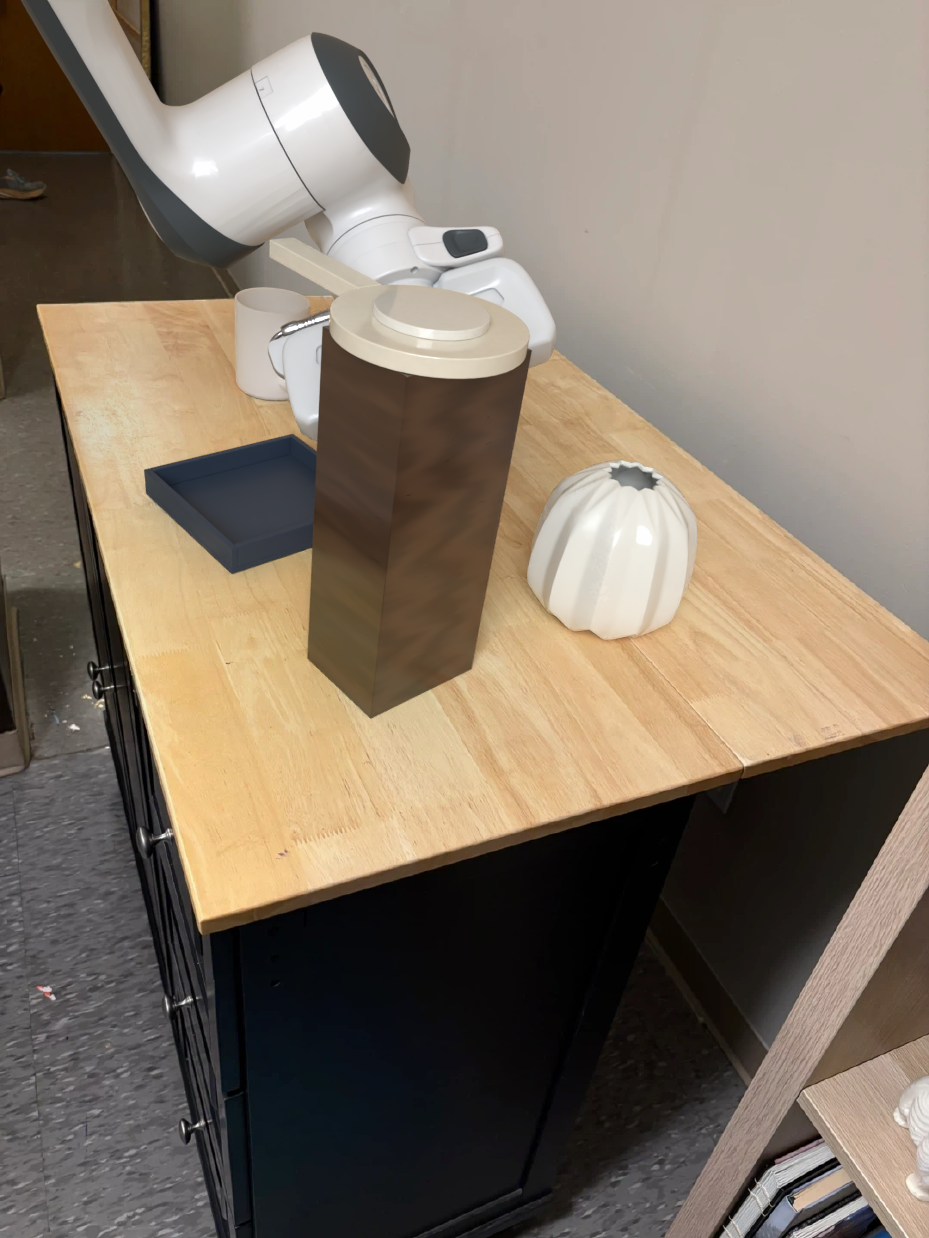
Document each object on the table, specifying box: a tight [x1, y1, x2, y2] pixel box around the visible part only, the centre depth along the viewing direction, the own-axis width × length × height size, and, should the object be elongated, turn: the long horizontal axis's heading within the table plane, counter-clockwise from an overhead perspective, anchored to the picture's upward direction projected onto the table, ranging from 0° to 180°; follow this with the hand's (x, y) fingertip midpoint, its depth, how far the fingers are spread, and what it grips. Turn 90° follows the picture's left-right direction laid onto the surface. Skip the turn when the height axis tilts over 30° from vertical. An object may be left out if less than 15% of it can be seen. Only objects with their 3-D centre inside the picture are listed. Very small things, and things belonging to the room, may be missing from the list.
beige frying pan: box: [268, 237, 530, 379], centre depth 57 cm, size 12×22×2 cm, turn 42°
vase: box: [526, 459, 699, 641], centre depth 76 cm, size 14×14×13 cm
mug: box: [234, 286, 312, 402], centre depth 103 cm, size 12×8×10 cm
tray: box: [143, 433, 317, 575], centre depth 85 cm, size 16×15×3 cm
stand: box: [306, 325, 532, 719], centre depth 63 cm, size 10×8×26 cm
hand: (453, 447), depth 66 cm, fingers closed, pressing on stand
